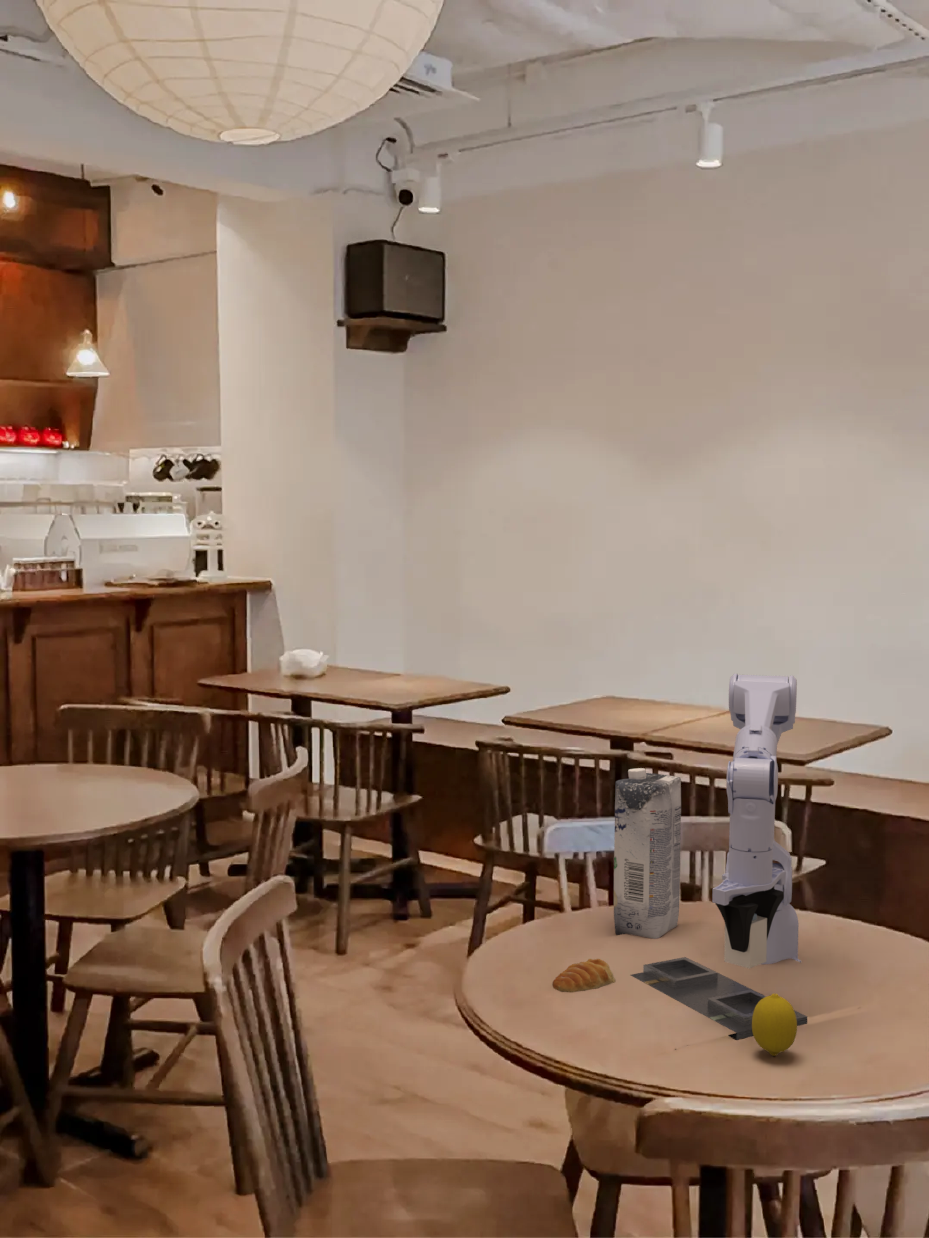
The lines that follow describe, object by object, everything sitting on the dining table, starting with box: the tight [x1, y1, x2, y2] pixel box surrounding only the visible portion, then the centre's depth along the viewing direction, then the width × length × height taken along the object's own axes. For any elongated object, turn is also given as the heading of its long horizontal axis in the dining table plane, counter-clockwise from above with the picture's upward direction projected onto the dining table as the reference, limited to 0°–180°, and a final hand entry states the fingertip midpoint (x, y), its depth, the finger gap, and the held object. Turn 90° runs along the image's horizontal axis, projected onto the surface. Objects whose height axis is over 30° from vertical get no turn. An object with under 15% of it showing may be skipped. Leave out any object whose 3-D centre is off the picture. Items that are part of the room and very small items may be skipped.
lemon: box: [752, 992, 798, 1057], centre depth 163 cm, size 6×6×8 cm
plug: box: [723, 914, 767, 970], centre depth 175 cm, size 4×4×7 cm
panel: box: [630, 956, 808, 1041], centre depth 181 cm, size 12×24×2 cm, turn 28°
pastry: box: [552, 958, 616, 993], centre depth 186 cm, size 9×7×4 cm
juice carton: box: [613, 767, 682, 940], centre depth 210 cm, size 9×10×27 cm
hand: (748, 946), depth 175 cm, fingers closed on plug, 4 cm apart
